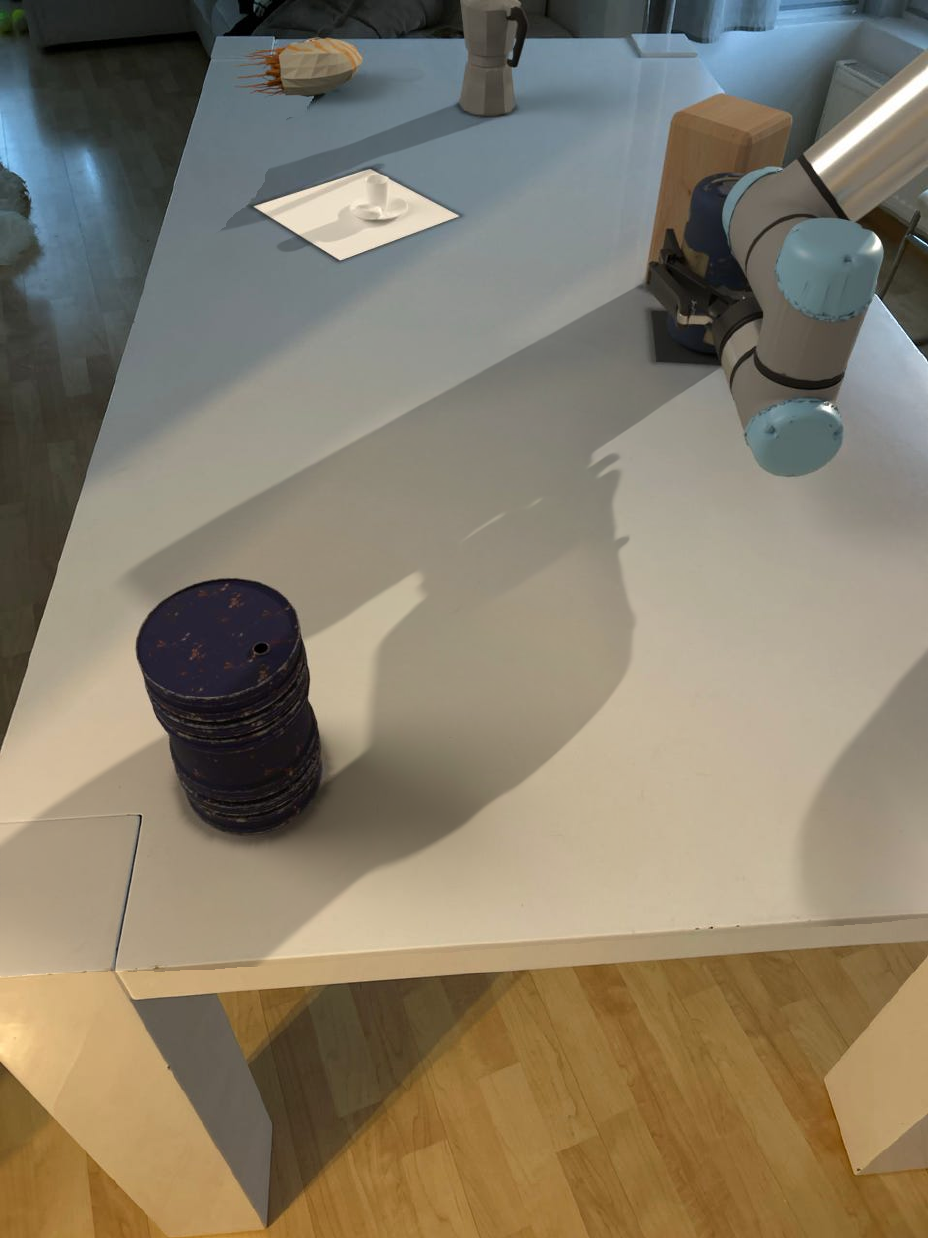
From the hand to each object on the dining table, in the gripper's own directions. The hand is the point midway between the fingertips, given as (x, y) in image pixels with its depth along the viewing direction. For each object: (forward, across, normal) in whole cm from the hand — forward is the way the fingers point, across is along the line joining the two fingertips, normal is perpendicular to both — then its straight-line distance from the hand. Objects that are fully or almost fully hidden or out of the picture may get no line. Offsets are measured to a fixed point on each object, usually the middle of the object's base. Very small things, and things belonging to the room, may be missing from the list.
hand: (716, 241), depth 104 cm
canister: (-4, 0, -10) cm, 10 cm away
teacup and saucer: (+27, -42, -10) cm, 51 cm away
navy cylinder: (-64, -43, -10) cm, 77 cm away
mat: (-4, 0, -9) cm, 10 cm away
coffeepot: (+66, -23, -10) cm, 71 cm away
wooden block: (+8, +1, -10) cm, 12 cm away
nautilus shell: (+73, -55, -10) cm, 92 cm away
